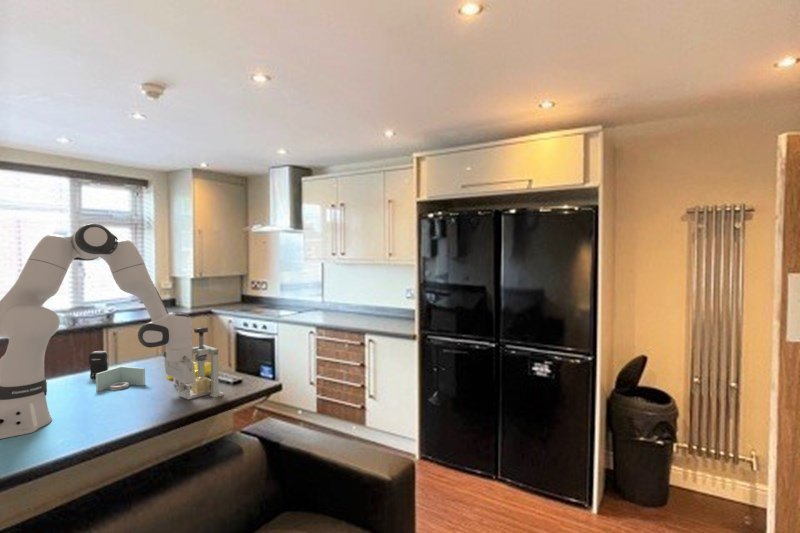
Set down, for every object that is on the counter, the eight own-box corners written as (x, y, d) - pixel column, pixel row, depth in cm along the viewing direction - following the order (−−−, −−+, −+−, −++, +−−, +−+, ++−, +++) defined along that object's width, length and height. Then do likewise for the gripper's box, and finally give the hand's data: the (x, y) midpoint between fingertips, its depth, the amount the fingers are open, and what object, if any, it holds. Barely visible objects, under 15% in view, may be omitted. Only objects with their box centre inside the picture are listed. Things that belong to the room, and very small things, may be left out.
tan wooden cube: (209, 389, 176) (209, 377, 176) (197, 392, 172) (197, 379, 172) (203, 387, 179) (203, 374, 179) (191, 390, 175) (191, 377, 175)
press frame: (206, 399, 168) (206, 352, 168) (185, 390, 179) (184, 345, 179) (223, 395, 174) (223, 349, 173) (202, 386, 185) (201, 343, 184)
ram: (198, 361, 172) (197, 329, 171) (192, 359, 175) (191, 328, 174) (210, 359, 176) (210, 328, 175) (204, 357, 179) (204, 326, 178)
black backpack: (87, 379, 193) (87, 353, 192) (92, 376, 197) (91, 351, 196) (105, 378, 194) (104, 352, 194) (109, 376, 198) (108, 350, 197)
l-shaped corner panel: (96, 392, 178) (95, 373, 177) (121, 383, 189) (121, 366, 189) (120, 394, 175) (120, 376, 174) (145, 385, 186) (144, 368, 186)
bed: (187, 399, 168) (187, 386, 168) (178, 395, 173) (178, 382, 172) (216, 392, 177) (216, 379, 176) (207, 388, 181) (207, 375, 181)
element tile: (165, 380, 194) (165, 369, 193) (183, 370, 209) (183, 360, 208) (199, 380, 193) (199, 370, 193) (214, 371, 208) (214, 361, 208)
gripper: (199, 357, 164) (200, 394, 165) (178, 348, 178) (178, 383, 178) (182, 361, 159) (182, 399, 160) (161, 351, 173) (161, 386, 174)
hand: (180, 390), depth 169 cm, fingers closed
